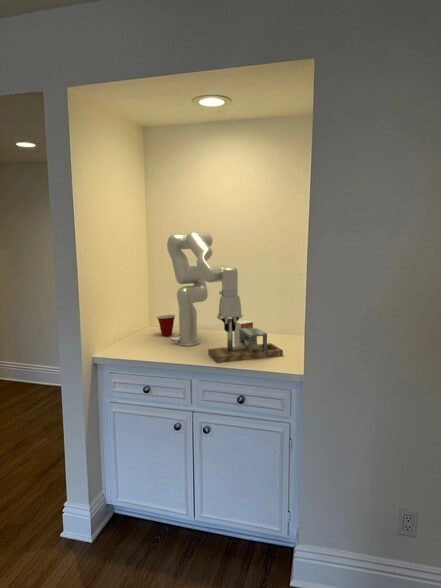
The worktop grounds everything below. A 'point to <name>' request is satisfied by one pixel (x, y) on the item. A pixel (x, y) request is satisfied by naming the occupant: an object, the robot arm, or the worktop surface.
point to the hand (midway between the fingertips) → (229, 330)
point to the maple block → (253, 344)
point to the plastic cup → (166, 324)
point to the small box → (240, 326)
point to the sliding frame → (230, 339)
